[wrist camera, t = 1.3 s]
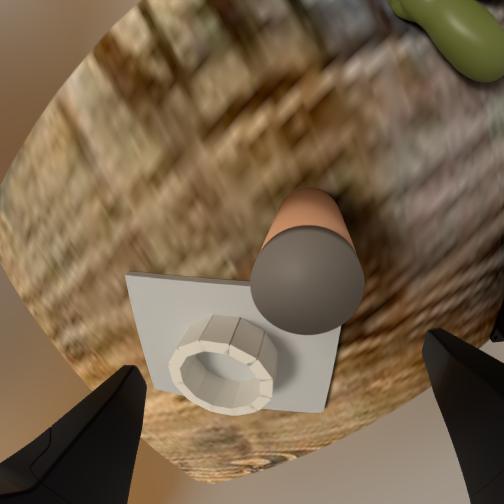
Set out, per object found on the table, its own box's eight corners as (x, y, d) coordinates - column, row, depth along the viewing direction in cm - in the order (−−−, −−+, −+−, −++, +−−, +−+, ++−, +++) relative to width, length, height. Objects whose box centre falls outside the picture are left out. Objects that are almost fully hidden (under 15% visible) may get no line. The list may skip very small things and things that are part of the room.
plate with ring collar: (345, 286, 22) (351, 318, 18) (323, 407, 27) (322, 440, 23) (129, 271, 25) (102, 293, 21) (157, 384, 30) (141, 410, 26)
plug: (342, 189, 19) (371, 236, 10) (338, 251, 21) (355, 337, 12) (277, 187, 20) (248, 230, 11) (277, 248, 21) (251, 331, 12)
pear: (503, 86, 10) (368, -28, 10) (471, 104, 14) (367, 11, 15) (535, 44, 7) (413, -58, 8) (504, 65, 12) (406, -21, 13)
